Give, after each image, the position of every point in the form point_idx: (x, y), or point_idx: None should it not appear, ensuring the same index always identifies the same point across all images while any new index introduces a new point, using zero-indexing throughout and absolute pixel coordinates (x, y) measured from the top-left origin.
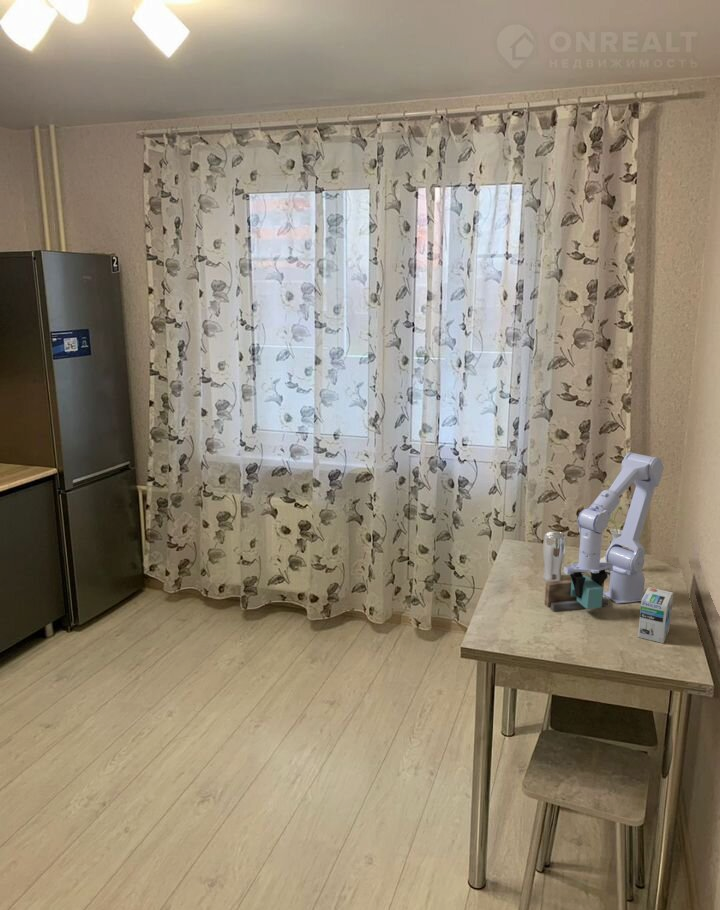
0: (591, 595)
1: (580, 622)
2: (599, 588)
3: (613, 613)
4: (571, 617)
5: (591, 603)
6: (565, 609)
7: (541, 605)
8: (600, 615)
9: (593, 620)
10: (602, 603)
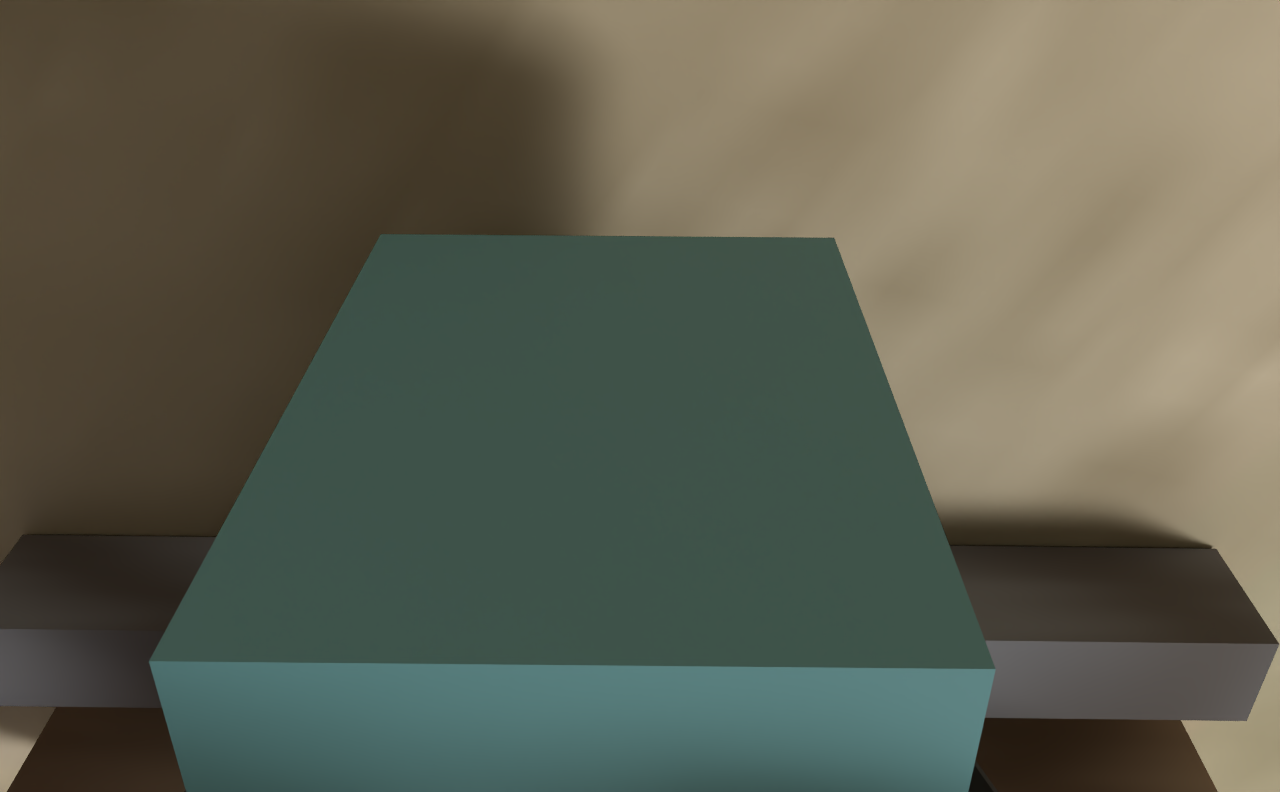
0: (785, 469)
1: (1058, 6)
2: (375, 671)
3: (40, 227)
4: (1065, 275)
5: (722, 309)
6: (957, 557)
7: (1209, 755)
8: (382, 210)
9: (685, 24)
10: (134, 572)
